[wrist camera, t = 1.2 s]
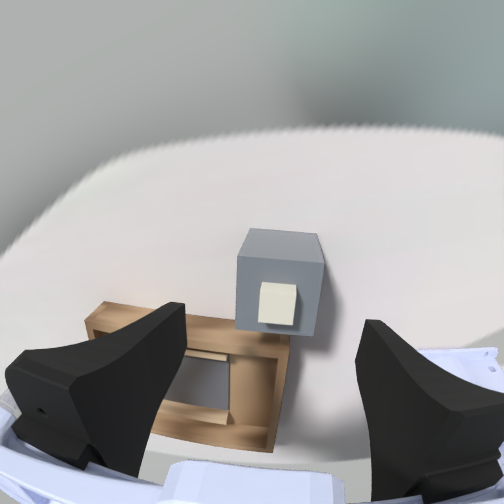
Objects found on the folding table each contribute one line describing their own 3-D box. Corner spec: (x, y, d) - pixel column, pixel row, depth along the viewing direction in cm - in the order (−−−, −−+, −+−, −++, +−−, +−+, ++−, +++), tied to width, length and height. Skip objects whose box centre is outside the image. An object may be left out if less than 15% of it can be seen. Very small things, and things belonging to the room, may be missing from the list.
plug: (316, 233, 19) (327, 271, 13) (309, 293, 20) (314, 347, 15) (250, 227, 19) (233, 263, 14) (247, 287, 21) (231, 340, 15)
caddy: (289, 325, 21) (289, 351, 18) (275, 427, 25) (272, 453, 22) (104, 301, 22) (84, 320, 20) (126, 401, 26) (114, 422, 23)
